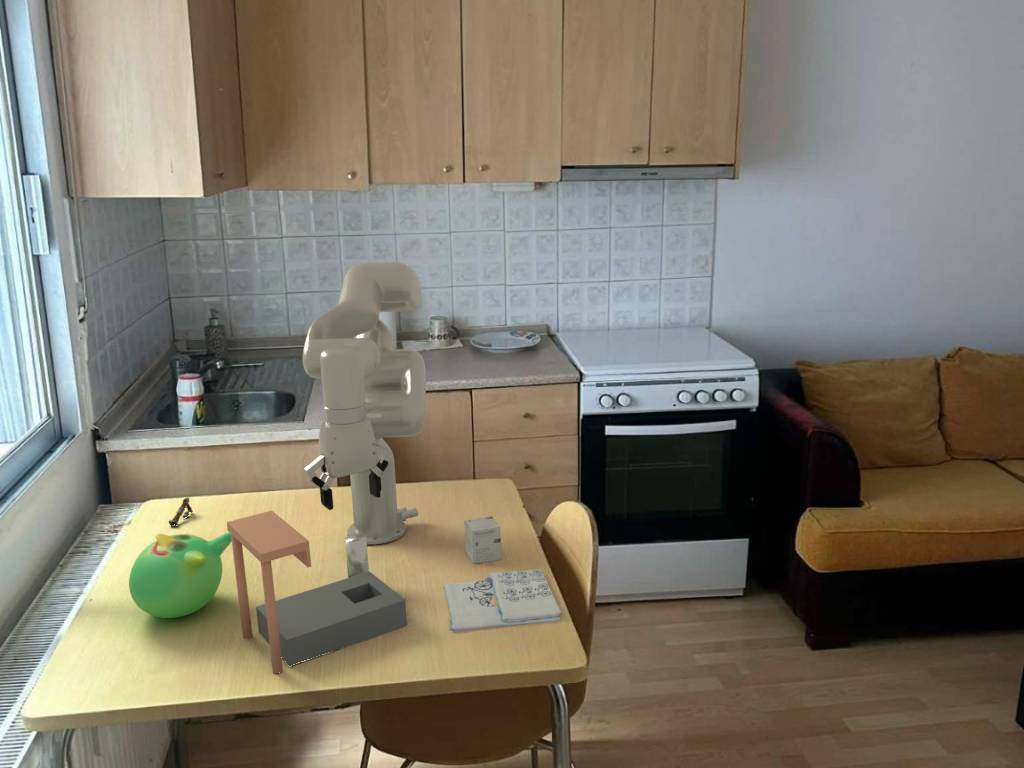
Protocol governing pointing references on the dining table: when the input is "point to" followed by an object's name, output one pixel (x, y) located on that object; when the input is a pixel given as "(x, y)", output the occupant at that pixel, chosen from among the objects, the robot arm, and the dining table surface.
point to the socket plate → (334, 616)
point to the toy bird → (177, 574)
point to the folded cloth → (501, 601)
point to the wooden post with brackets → (181, 512)
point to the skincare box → (482, 539)
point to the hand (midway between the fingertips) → (352, 501)
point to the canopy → (265, 566)
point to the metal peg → (356, 554)
